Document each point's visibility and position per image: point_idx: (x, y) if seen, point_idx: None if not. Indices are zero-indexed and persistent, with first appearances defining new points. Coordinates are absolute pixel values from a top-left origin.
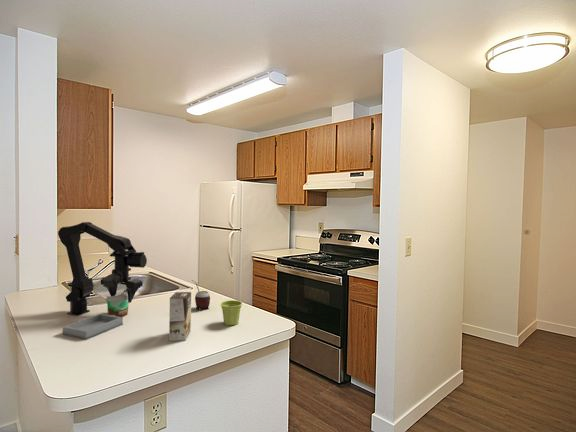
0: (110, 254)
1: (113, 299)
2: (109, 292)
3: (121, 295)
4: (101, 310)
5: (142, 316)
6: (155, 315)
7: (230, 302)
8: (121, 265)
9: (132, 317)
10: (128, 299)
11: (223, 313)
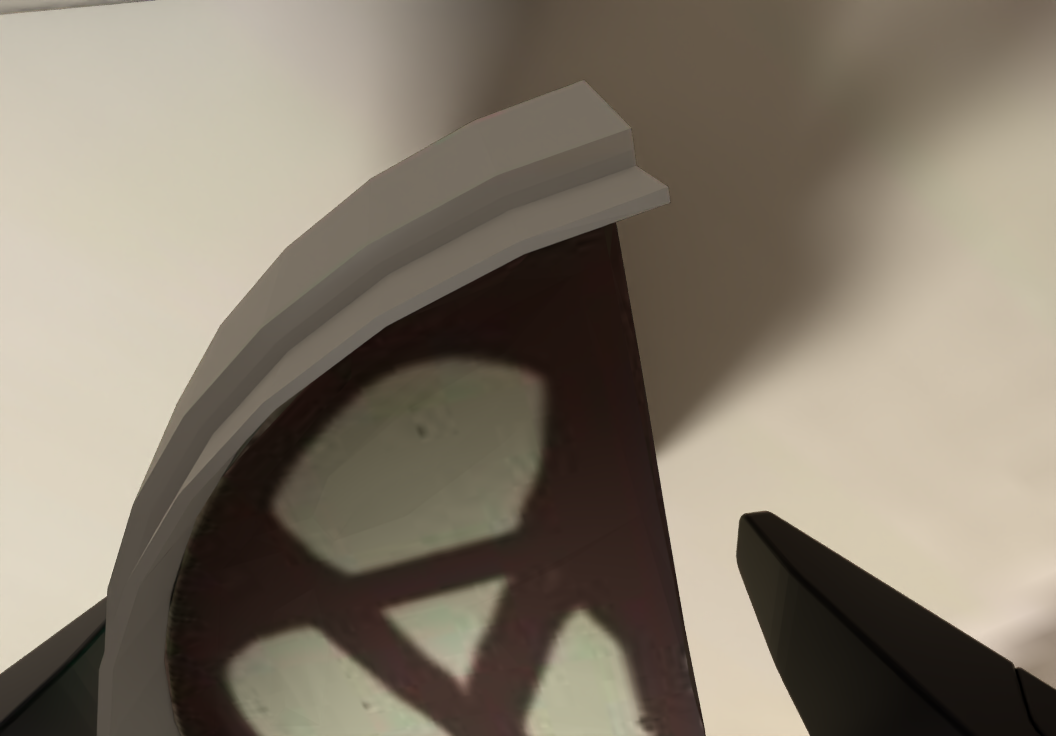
0: None
1: (245, 311)
2: (1048, 692)
3: (102, 724)
4: (964, 374)
5: (128, 510)
6: (24, 620)
7: None
8: None
9: None
10: (26, 674)
11: None
